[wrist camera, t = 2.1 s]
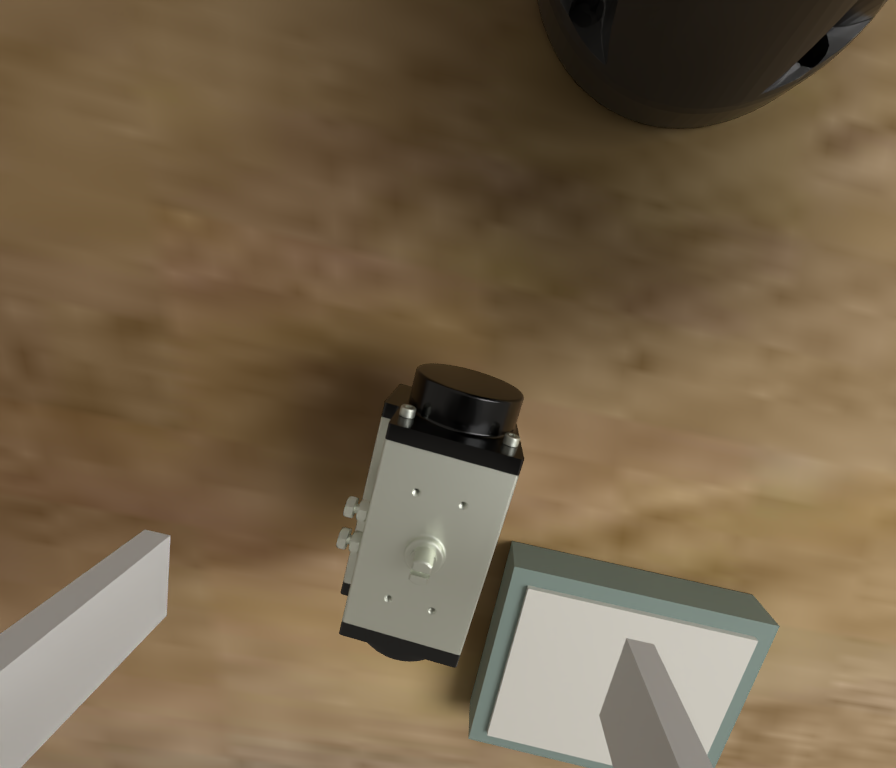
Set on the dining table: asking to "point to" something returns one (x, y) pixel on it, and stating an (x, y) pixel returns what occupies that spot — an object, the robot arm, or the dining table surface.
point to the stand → (607, 652)
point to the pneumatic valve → (431, 512)
